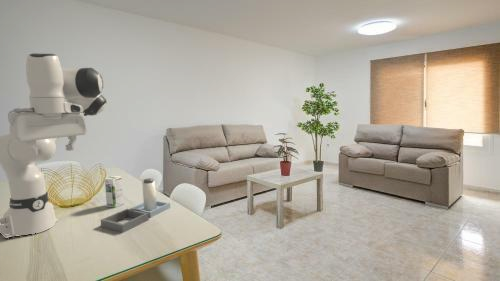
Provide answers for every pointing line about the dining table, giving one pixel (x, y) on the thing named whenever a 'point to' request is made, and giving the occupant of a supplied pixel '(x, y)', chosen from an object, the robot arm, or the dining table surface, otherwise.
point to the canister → (149, 194)
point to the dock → (138, 219)
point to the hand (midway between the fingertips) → (54, 152)
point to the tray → (160, 208)
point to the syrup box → (114, 191)
